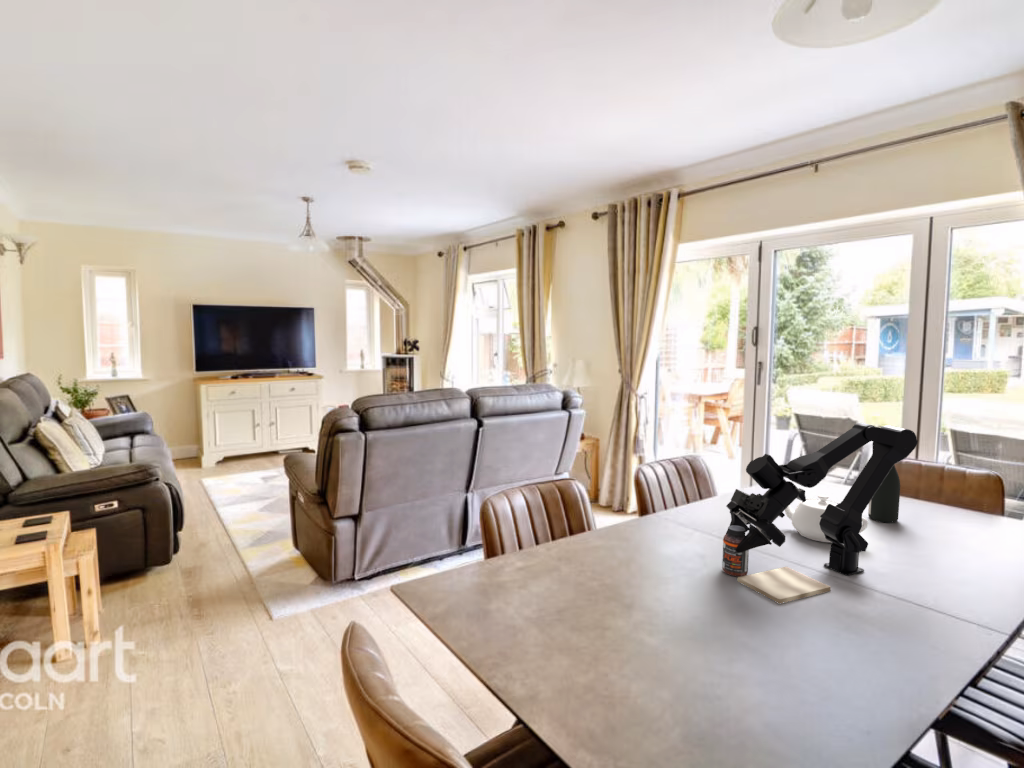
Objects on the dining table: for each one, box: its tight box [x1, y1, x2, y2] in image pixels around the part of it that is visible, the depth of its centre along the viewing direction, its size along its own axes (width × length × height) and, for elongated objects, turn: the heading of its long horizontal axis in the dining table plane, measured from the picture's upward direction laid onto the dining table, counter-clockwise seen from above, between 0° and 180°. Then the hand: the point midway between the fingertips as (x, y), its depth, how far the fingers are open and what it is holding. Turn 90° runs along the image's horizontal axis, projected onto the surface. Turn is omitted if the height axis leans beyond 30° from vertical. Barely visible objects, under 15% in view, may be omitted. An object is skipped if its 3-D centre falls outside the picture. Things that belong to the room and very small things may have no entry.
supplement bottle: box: [721, 525, 750, 578], centre depth 136 cm, size 6×6×11 cm
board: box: [737, 566, 832, 605], centre depth 129 cm, size 16×12×1 cm
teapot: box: [784, 494, 869, 543], centre depth 161 cm, size 25×16×12 cm, turn 40°
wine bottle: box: [867, 464, 901, 524], centre depth 175 cm, size 8×8×30 cm
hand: (730, 546), depth 136 cm, fingers closed on supplement bottle, 6 cm apart
